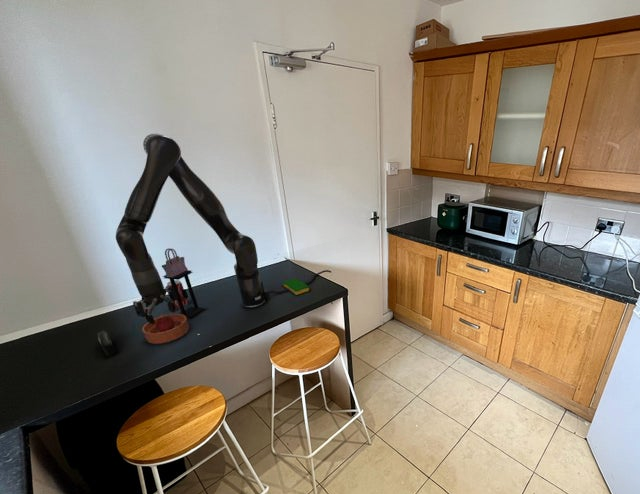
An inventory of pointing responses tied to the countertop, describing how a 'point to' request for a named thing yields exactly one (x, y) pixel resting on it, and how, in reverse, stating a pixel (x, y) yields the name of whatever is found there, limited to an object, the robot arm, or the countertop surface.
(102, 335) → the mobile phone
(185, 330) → the bowl
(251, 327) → the countertop surface
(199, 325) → the countertop surface
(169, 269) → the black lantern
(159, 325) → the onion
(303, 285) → the dish sponge
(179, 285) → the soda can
